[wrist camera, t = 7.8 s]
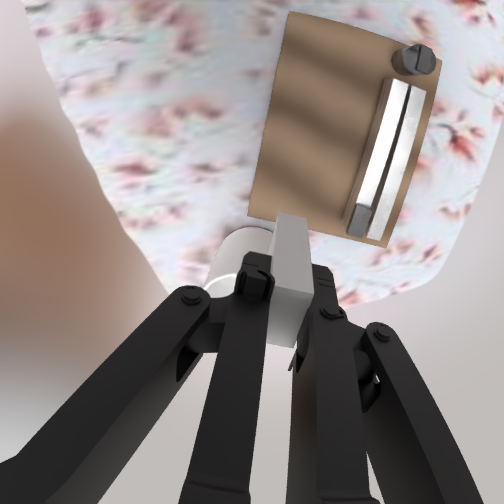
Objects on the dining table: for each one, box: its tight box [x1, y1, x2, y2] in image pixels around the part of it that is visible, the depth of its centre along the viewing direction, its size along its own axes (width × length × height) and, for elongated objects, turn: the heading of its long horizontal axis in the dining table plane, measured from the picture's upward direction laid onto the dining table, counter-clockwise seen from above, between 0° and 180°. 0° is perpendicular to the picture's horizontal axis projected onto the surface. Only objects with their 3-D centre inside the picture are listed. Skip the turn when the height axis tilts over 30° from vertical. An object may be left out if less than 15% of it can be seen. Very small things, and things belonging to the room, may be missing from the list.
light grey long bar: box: [341, 78, 409, 239], centre depth 28 cm, size 16×2×4 cm, turn 168°
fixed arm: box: [364, 44, 436, 241], centre depth 26 cm, size 19×3×5 cm, turn 169°
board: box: [247, 11, 442, 248], centre depth 30 cm, size 22×16×1 cm
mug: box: [202, 227, 273, 298], centre depth 34 cm, size 12×8×10 cm
